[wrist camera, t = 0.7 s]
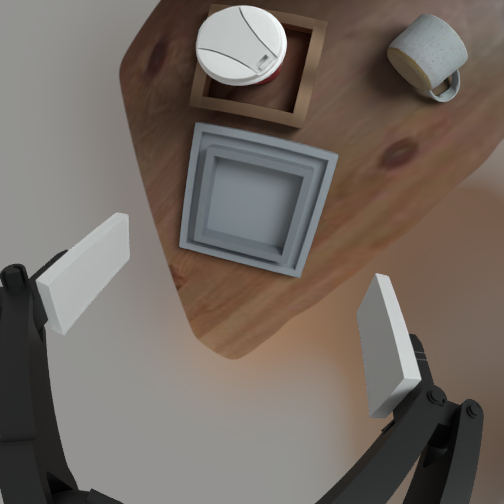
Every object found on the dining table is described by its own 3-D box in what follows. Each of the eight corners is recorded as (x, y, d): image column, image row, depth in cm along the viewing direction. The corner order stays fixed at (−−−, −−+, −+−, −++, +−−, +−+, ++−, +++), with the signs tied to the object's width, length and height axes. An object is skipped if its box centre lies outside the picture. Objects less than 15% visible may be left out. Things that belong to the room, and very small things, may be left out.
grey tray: (199, 121, 36) (191, 123, 33) (337, 153, 35) (340, 157, 33) (182, 242, 45) (175, 251, 42) (299, 272, 44) (299, 283, 41)
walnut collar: (216, 9, 28) (210, 3, 26) (326, 27, 28) (328, 22, 26) (195, 106, 35) (188, 106, 33) (302, 127, 35) (302, 129, 32)
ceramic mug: (375, 54, 28) (393, 44, 22) (412, 20, 25) (435, 6, 18) (431, 114, 31) (458, 120, 24) (464, 80, 27) (495, 80, 20)
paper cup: (304, 63, 31) (306, 38, 18) (261, 104, 34) (239, 103, 22) (256, 24, 29) (233, -15, 17) (215, 66, 32) (171, 49, 20)
